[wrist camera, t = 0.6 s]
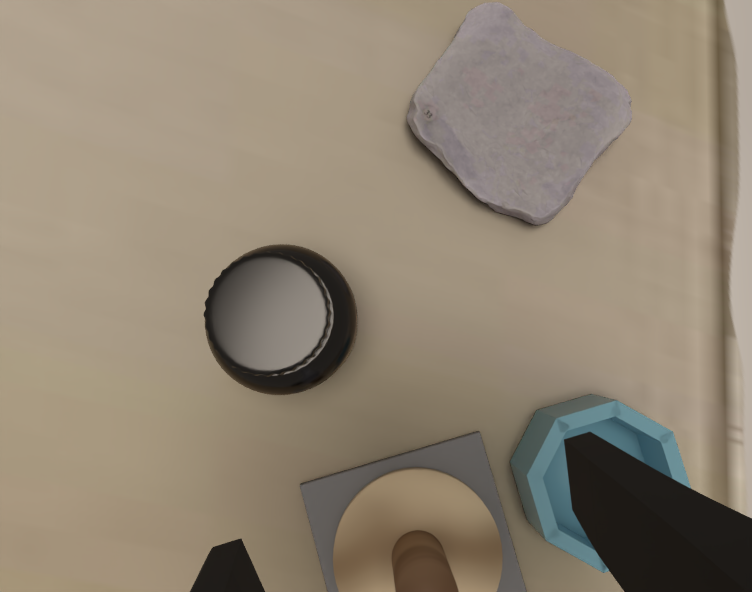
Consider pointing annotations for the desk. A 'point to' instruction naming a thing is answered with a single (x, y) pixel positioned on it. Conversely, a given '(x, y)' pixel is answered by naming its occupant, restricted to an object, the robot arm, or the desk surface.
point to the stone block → (516, 114)
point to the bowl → (549, 467)
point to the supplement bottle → (280, 319)
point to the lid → (417, 537)
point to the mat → (449, 456)
